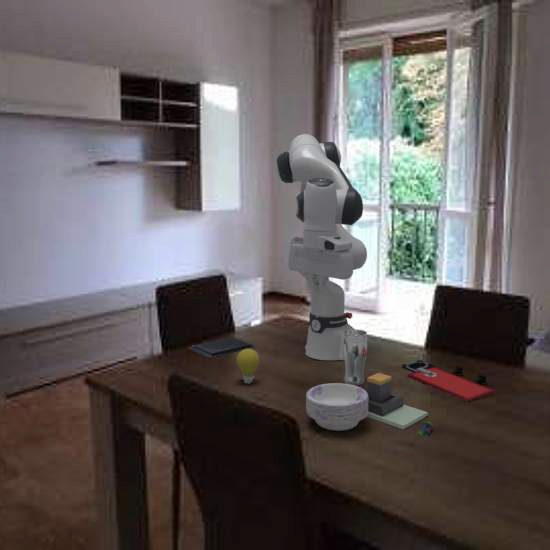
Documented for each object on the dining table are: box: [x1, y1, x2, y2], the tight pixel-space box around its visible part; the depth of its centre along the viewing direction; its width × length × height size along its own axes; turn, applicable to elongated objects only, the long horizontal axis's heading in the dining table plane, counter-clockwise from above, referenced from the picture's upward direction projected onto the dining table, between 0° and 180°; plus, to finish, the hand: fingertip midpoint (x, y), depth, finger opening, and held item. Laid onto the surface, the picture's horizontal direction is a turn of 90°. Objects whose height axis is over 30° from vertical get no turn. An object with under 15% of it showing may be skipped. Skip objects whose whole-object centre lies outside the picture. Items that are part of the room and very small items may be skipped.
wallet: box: [186, 336, 256, 359], centre depth 208 cm, size 20×2×15 cm
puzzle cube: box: [416, 420, 434, 436], centre depth 143 cm, size 4×3×2 cm, turn 145°
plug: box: [366, 372, 393, 404], centre depth 154 cm, size 5×4×8 cm
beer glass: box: [343, 328, 368, 386], centre depth 174 cm, size 7×7×15 cm
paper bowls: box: [305, 382, 369, 432], centre depth 147 cm, size 15×15×8 cm
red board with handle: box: [401, 359, 496, 402], centre depth 177 cm, size 30×3×15 cm
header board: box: [366, 392, 428, 431], centre depth 155 cm, size 11×22×4 cm, turn 45°
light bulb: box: [236, 348, 260, 384], centre depth 174 cm, size 7×7×10 cm
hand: (318, 290), depth 162 cm, fingers closed
